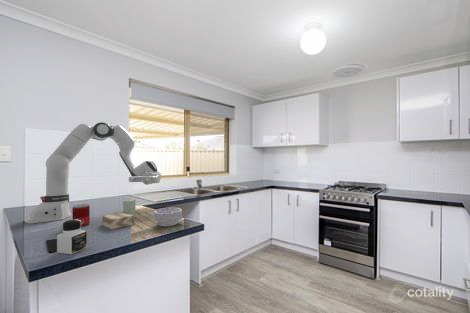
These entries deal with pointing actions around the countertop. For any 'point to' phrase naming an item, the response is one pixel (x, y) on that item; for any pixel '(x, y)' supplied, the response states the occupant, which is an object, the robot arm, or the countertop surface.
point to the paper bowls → (167, 216)
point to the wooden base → (118, 220)
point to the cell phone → (52, 245)
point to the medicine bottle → (71, 238)
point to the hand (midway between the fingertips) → (138, 180)
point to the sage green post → (129, 207)
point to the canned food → (81, 213)
